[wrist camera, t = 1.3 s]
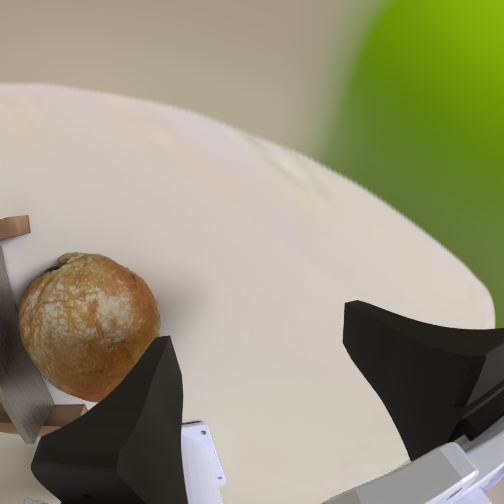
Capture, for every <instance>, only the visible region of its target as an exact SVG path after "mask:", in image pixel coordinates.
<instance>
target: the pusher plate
mask: <svg viewBox="0 0 504 504" xmlns="http://www.w3.org/2000/svg"><path fill="white" fill-rule="evenodd" d="M0 402H1V403H2V405H3V407H4V409H5V411H6V412H7V414H8V416H9V418H10V419H11V421H12V423H13V424H14V426H15V428H16V429H17V431H18V432H19V434H20V435H21V437H22V438H23V440H24V442H25V443H26V444H34V443H35V441H36V439H37V437H38V434H39V432H40V430H41V428H42V426H43V424H44V422H45V420H46V418H47V416H48V414H49V412H50V410H51V408H52V406H53V404H54V402H53V400H52V398H51V396H50V394H49V392H48V390H47V388H46V385H45V383H44V381H43V379H42V377H41V374H40V372H39V370H38V369H37V368H36V366H35V365H34V363H33V361H32V360H31V358H30V356H29V354H28V352H27V351H26V349H25V347H24V346H23V343H22V340H21V334H20V330H19V318H18V313H17V310H16V306H15V303H14V299H13V296H12V292H11V288H10V284H9V280H8V276H7V271H6V267H5V262H4V257H3V252H2V247H1V246H0Z"/></svg>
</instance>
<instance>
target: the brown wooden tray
mask: <svg viewBox="0 0 504 504" xmlns="http://www.w3.org/2000/svg"><path fill="white" fill-rule="evenodd" d="M30 232H31V231H30V224H29V217H28V215H26V216H16V217H7V218H4V219H0V240H3V239H7V238H11V237H14V236H18V235H22V234H26V233H30ZM87 411H88V410H87V408H86V406H85V404H82V405H53V406H52V408H51V410H50V412H49V414H48V416H47V418H46V420H45V422H44V424H43V426H42V428H41V430H40V432H39V434H38V436H44V435H46V434H49V433H51V432H53V431H55V430H57V429H59V428H61V427H63V426H65V425H67V424H69V423H70V422H72V421H74V420H75V419H77V418H79V417H80V416H82V415H83V414H85V413H86V412H87ZM0 432H5V433H12V434H19V432H18V431H17V429H16V428H15V426H14V424H13V423H12V421H11V419H10V418H9V416H8V414H7V412H6V411H5V409H4V407H3V405H2V403H0Z"/></svg>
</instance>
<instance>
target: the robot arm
mask: <svg viewBox="0 0 504 504" xmlns="http://www.w3.org/2000/svg"><path fill="white" fill-rule="evenodd" d="M343 344H344V346H345V348H346V350H347V352H348V354H349V356H350V357H351V359H352V361H353V362H354V364H355V365H356V366H357V368H358V369H359V370H360V372H361V373H362V374H363V376H364V377H365V378H366V380H367V381H368V382H369V383H370V385H371V386H372V387H373V389H374V390H375V391H376V393H377V394H378V396H379V397H380V399H381V400H382V402H383V403H384V405H385V407H386V409H387V410H388V412H389V414H390V416H391V418H392V420H393V422H394V424H395V426H396V428H397V430H398V432H399V434H400V436H401V438H402V441H403V443H404V445H405V447H406V450H407V452H408V455H409V457H410V460H411V463H408V464H407V465H404V466H402V467H400V468H398V469H396V470H394V471H392V472H390V473H388V474H386V475H384V476H381V477H379V478H377V479H374V480H372V481H370V482H367V483H365V484H362V485H360V486H357V487H355V488H352V489H350V490H348V491H346V492H343V493H341V494H339V495H336V496H334V497H332V498H330V499H328V500H327V501H325V502H323V503H322V504H492V503H491V502H490V500H489V499H488V497H487V496H486V495H485V493H486V492H487V491H489V490H490V489H491V488H492V487H493V486H494V485H495V484H497V482H499V481H500V480H501V479H502V478H503V477H504V328H498V329H485V330H477V329H458V328H449V327H443V326H437V325H433V324H428V323H424V322H420V321H417V320H413V319H410V318H407V317H404V316H401V315H398V314H395V313H393V312H390V311H387V310H385V309H382V308H379V307H377V306H374V305H371V304H369V303H366V302H363V301H359V300H356V301H351V302H347V303H345V309H344V329H343ZM182 410H183V384H182V374H181V371H180V368H179V364H178V361H177V358H176V354H175V351H174V348H173V344H172V341H171V337H170V336H162V337H155V338H154V340H153V341H152V342H151V344H150V345H149V346H148V348H147V349H146V351H145V352H144V353H143V355H142V356H141V358H140V359H139V360H138V362H137V363H136V364H135V366H134V367H133V368H132V369H131V371H130V372H129V373H128V374H127V375H126V376H125V378H124V379H123V380H122V381H121V382H120V383H119V384H118V386H117V387H116V388H115V389H114V390H113V391H111V392H110V393H109V394H108V395H107V396H106V397H105V398H104V399H103V400H101V401H100V402H99V403H98V404H96V405H95V406H94V407H93V408H91V409H90V410H89V411H87V412H86V413H85V414H83V415H82V416H80V417H79V418H77V419H75V420H74V421H72V422H70V423H69V424H67V425H65V426H63V427H61V428H59V429H57V430H55V431H53V432H51V433H49V434H46V435H44V436H42V437H41V439H40V441H39V444H38V447H37V449H36V452H35V455H34V458H33V461H32V464H31V471H32V472H33V474H34V476H35V478H36V479H37V480H38V481H39V482H40V483H41V484H42V485H43V486H44V487H45V488H46V489H47V490H49V491H50V492H51V493H52V494H53V495H54V496H55V497H57V498H58V499H59V500H60V501H61V504H223V502H222V497H221V493H220V489H219V486H223V485H225V484H226V483H227V481H226V478H225V476H224V473H223V470H222V467H221V464H220V461H219V459H218V456H217V453H216V450H215V447H214V444H213V441H212V438H211V434H210V431H209V428H208V425H207V424H206V423H204V422H199V423H192V424H186V425H182ZM201 431H205V432H201ZM24 504H47V503H43V502H39V501H36V500H32V499H29V498H25V501H24Z"/></svg>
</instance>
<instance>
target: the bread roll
mask: <svg viewBox="0 0 504 504" xmlns="http://www.w3.org/2000/svg"><path fill="white" fill-rule="evenodd" d="M58 260H59V262H60V265H58V266H56V267H51V268H50V269H49V270H47V271H46V272H45V274H44V275H42V276H40V277H38V278H37V279H35V280H34V281H33V282H32V283H31V284H30V285H29V286H28V288H27V289H26V291H25V292H24V294H23V296H22V299H21V302H20V305H19V312H18V318H19V330H20V334H21V340H22V343H23V346H24V347H25V349H26V351H27V352H28V354H29V356H30V358H31V360H32V361H33V363H34V365H35V366H36V368H37V369H38V370H39V371H40V373H41V374H42V375H43V376H44V377H45V378H46V379H47V380H48V381H49V382H50V383H51V384H52V385H53V386H54V387H56V388H57V389H59V390H61V391H63V392H65V393H67V394H69V395H72V396H75V397H78V398H81V399H83V400H86V401H91V402H100V401H101V400H103V399H104V398H105V397H106V396H107V395H108V394H109V393H110V392H111V391H113V390H114V389H115V388H116V387H117V386H118V384H119V383H120V382H121V381H122V380H123V379H124V378H125V376H126V375H127V374H128V373H129V372H130V371H131V369H132V368H133V367H134V366H135V364H136V363H137V362H138V360H139V359H140V358H141V356H142V355H143V353H144V352H145V351H146V349H147V348H148V346H149V345H150V344H151V342H152V341H153V340H154V338H155V337H159V328H160V325H161V321H160V315H159V312H158V309H157V301H156V300H155V298H154V296H153V294H152V292H151V291H150V289H149V287H148V285H147V284H146V283H145V281H144V280H143V279H142V278H141V277H139V276H138V275H136V274H135V273H134V272H132V271H130V270H129V269H128V268H125V267H123V266H121V265H119V264H118V263H116V262H115V261H113V260H111V259H110V258H107V257H105V256H102V255H100V254H85V253H80V254H79V253H76V252H75V253H68V254H65V255H63V256H62V257H61V258H59V259H58Z"/></svg>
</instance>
